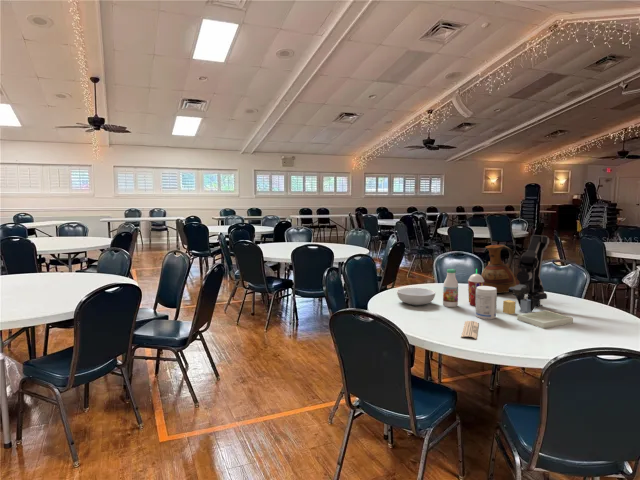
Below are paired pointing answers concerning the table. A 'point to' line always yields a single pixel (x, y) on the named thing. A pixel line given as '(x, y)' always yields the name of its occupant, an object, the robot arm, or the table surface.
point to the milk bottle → (450, 289)
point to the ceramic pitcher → (499, 270)
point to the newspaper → (470, 329)
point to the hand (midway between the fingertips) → (526, 309)
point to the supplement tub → (486, 302)
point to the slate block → (525, 305)
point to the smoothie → (474, 287)
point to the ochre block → (509, 306)
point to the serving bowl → (416, 295)
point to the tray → (545, 319)
